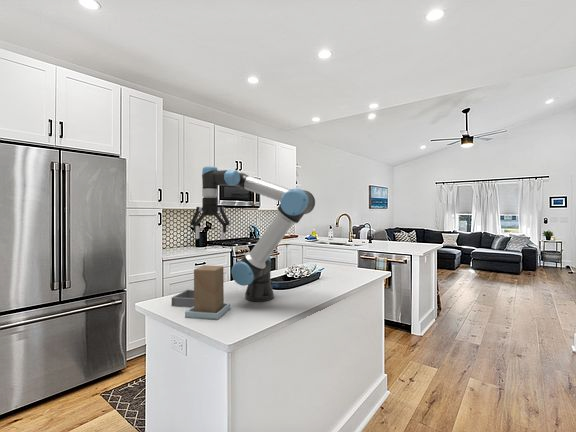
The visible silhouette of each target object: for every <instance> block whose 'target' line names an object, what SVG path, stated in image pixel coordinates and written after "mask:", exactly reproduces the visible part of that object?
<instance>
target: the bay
mask: <svg viewBox="0 0 576 432" xmlns="http://www.w3.org/2000/svg"><path fill="white" fill-rule="evenodd" d="M193 306H194V289H185V290H184V291H182V292H180V293H178V294H175V295H174V296H172V297H171V307H182V308H183V307H185V308H192V307H193Z"/></svg>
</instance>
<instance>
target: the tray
mask: <svg viewBox="0 0 576 432" xmlns="http://www.w3.org/2000/svg"><path fill="white" fill-rule="evenodd" d="M231 305H232V304H231V303H228V302H224V307H223V308H222V309H221V310H220V311H218V312H217V313H207V312H194V306H193V307H189V309H187V310H186V311H185V312H184V318H186V319H187V318H188V319H201V320H211V321H212V320H215V321H218V320H219V319H221V317H223V316H224V315H225V314H226V313H227V312H228V311H230V310H231V307H232V306H231Z"/></svg>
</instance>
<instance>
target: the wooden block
mask: <svg viewBox="0 0 576 432" xmlns="http://www.w3.org/2000/svg"><path fill="white" fill-rule="evenodd" d="M224 286H225V285H224V266H223V265H201V266H199V267H197V268H195V269H194V270H193V290H194V312H207V313H217V312H218V311H220V310H221V309H222V308H223V307H224V303H225V302H224V301H225V300H224V299H225V298H224Z"/></svg>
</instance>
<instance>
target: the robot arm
mask: <svg viewBox="0 0 576 432" xmlns="http://www.w3.org/2000/svg"><path fill="white" fill-rule="evenodd" d="M201 178H202V179H201V180H202V184H201V185H202V201H201V202H202V207H201V206H196V209H195V213H194V215H193V217H192V218H191V221H190V225H191V226H193V232H194V233H195V239H196V240H198V239H200V225H199V224H200V223H201V222H202V221H203V219H205V217H206V216H207V217H208V216H209V217H210V216H212V217H213V216H214V217H215V218H216V220H218V222H219V224H221V229H220V230H221V233H220V234H221V235H220V237H221V238H220V239H221V240H225V239H226V238H225V234H226V233H227V227H228V226H230V225H231V222H230V221H229V219H228V216H227V215H226V212H225V207H224V206H218V203H219V201H218V198H217V197H218V196H219V195H218V186H231V187H237V188H240V189H243V190H247V191H249V192H252V193H255V194H258V195H260V196H264V197H267V198H269V199H271V200H275V201H278V202H280V204H279V205H278V207H277V214H276V215H275V217H274V218H273V220H272V221H271V223H270V224H269V225H268V227H267V228H266V229H265V231H264V232H263V233H262V235H261V236H260V238H259V239H258V241H257V242H256V243H255V245H254V246H253V247H252V249H251V250H250V251H248V252H245V253H244V255H243V256H242V258H241V259H240V261H237V262H236V263H234V264H233V265H232V267H231V276H232V279H233V281H234V282H235V283H236V284H237V285H239V286H243V287H244V286H247V287H246V289H245V293H244V298H245V299H244V300H247V301H249V302H257V303H258V302H268V301H270V300H273V299H274V297H275V296H274V295H275V292H274V289H273V286H272V284H271V276H272V275H271V270H272V269H271V263H272V260H271V254H273V252H274V250H275V249H276V248H277V246H279V244H280V242H281V241H282V240H283V238H284V237H285V235H286V234H287V233H288V232H289V230H290V229H291V228H292V226H293V225H295V224H298V223H299V222H300V221H301V219H302V218H303V216H304V215H307V214H309V213H311V212H313V210H314V209H315V206H316V198H315V197H314V195H313V194H312V193H311V192H310V191H308V190H305V189H300V188H288V187H285V186H281V185H279V184H275V183H272V182H269V181H267V180H264V179H261V178H257V177H255V176H252V175H248V174H246V173H244V172H238V170H237V169H223V170H218V167H216V166H212V165H211V166H208V165H207V166H204V167H202V174H201ZM218 211H219V212H220V214H221V216H222V217H221V216H220V214H219V213H218ZM200 213H201V214H200ZM199 215H200V216H199Z"/></svg>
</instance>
